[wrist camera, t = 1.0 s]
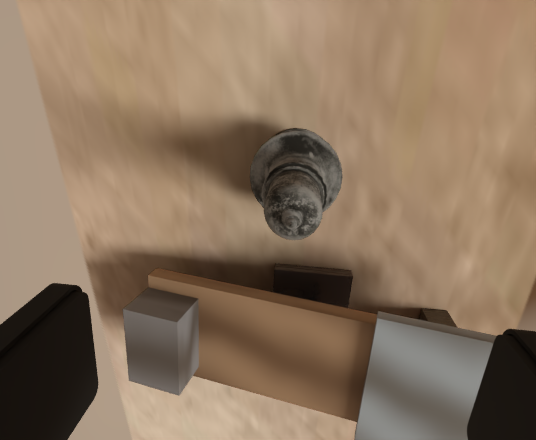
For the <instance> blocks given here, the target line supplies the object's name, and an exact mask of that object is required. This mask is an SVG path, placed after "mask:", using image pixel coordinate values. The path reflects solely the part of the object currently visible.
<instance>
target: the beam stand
mask: <svg viewBox="0 0 536 440" xmlns="http://www.w3.org/2000/svg"><path fill="white" fill-rule="evenodd" d="M352 279H353V275H352V271H351V270H340V269H329V268H318V267H307V266H297V265H286V264H275V270H274V284H273V293H278V294H282V295H287V296H292V297H297V298H301V299H306V300H311V301H316V302H320V303H325V304H330V305H334V306H339V307H344V308H348V304H349V298H350V292H351V285H352ZM419 320H423V321H428V322H433V323H437V324H442V325H447V326H452V327H457V326H456V324H455V323H454V321H453V320H452V318H451V316H450V315H449V313H448V311H443V310H433V309H423V308H422V309H421V314H420V318H419Z"/></svg>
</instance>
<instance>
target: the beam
mask: <svg viewBox="0 0 536 440" xmlns="http://www.w3.org/2000/svg"><path fill="white" fill-rule="evenodd" d="M148 285H149V287H148V288H147V289H146V290H145V291H144V292H142V293H141V294H140V295H139V296H138V297H137V298H135V299H134V300H133V301H132V302H131V303H129V304H128V305H127V306H126V307H125V308H123V317H124V329H125V340H126V352H127V364H128V375H129V381H132V382H135V383H139V384H142V385H145V386H149V387H152V388H155V389H159V390H162V391H165V392H169V393H172V394H175V395H180V394H181V392H182V391H183V389H184V388H185V386H186V385H187V383H188V382H189V380H190V379H191V378H192V376H196V377H200V378H204V379H207V380H211V381H214V382H218V383H221V384H225V385H228V386H232V387H235V388H239V389H242V390H246V391H249V392H253V393H257V394H260V395H264V396H267V397H271V398H274V399H278V400H281V401H285V402H288V403H292V404H295V405H299V406H302V407H306V408H309V409H313V410H317V411H320V412H324V413H327V414H331V415H334V416H338V417H341V418H345V419H348V420H352V421H355V422H357V425H356V431H355V439H354V440H468V437H467V425H468V421H469V418H470V415H471V412H472V409H473V406H474V403H475V399H476V396H477V393H478V390H479V387H480V384H481V381H482V378H483V374H484V371H485V368H486V365H487V362H488V359H489V356H490V353H491V350H492V346H493V343H494V340H495V338H496V337H497V336H495V335H490V334H485V333H480V332H476V331H471V330H466V329H461V328H457V327H452V326H447V325H442V324H437V323H433V322H428V321H423V320H418V319H414V318H409V317H404V316H399V315H394V314H390V313H385V312H380V311H378V314H372V313H368V312H363V311H358V310H353V309H349V308H344V307H339V306H334V305H330V304H325V303H320V302H316V301H311V300H306V299H301V298H297V297H292V296H287V295H282V294H278V293H273V292H268V291H264V290H259V289H254V288H249V287H245V286H240V285H235V284H230V283H226V282H221V281H216V280H212V279H207V278H202V277H197V276H193V275H188V274H183V273H178V272H174V271H169V270H164V269H160V268H156V269H155V270H154V271H153V272H151V273H150V274H149V275H148Z"/></svg>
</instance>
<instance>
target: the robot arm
mask: <svg viewBox="0 0 536 440" xmlns="http://www.w3.org/2000/svg"><path fill="white" fill-rule="evenodd" d="M97 389H98V376H97V367H96V359H95V350H94V342H93V333H92V324H91V315H90V307H89V299H88V295H87V294H86V293H84V292H82V289H81V288H80V287H79V286H77V285H68V284H58V283H53V284H51V285H49V286H48V287H46V288H45V289H44V290H43V291H41V292H40V293H39V294H38V295H36V296H35V297H34V298H33V299H32V300H30V301H29V302H28V303H27V304H26V305H24V306H23V307H22V308H20V309H19V310H18V311H17V312H16V313H14V314H13V315H12V316H11V317H9V318H8V319H7V320H6V321H4V322H3V323H2V324H1V325H0V440H67V439H68V438H69V436H70V435H71V433H72V432H73V430H74V429H75V427H76V425H77V424H78V423H79V421H80V420H81V418H82V416H83V415H84V413H85V412H86V410H87V409H88V407H89V406H90V404H91V403H92V401H93V400H94V398H95V396H96V393H97ZM467 437H468V440H536V332H535V331H526V330H516V329H508V330H506V331H505V332H504V333H503V335H498V336H497V337H496V338H495V340H494V343H493V346H492V350H491V353H490V356H489V359H488V362H487V365H486V368H485V371H484V374H483V378H482V381H481V384H480V387H479V390H478V393H477V396H476V399H475V403H474V406H473V409H472V412H471V415H470V418H469V421H468V425H467Z"/></svg>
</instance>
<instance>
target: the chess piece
mask: <svg viewBox="0 0 536 440" xmlns="http://www.w3.org/2000/svg"><path fill="white" fill-rule="evenodd" d="M250 182H251V187H252V191H253V193H254V195H255V197H256V199H257V201H258V202H259V203H260V204H261V205H262V207H263V208H264V215H265V219H266V222H267V224H268V226H269V227H270V229H271V230H272V231H273V232H274V233H275V234H277V235H278V236H280V237H282V238H285V239H289V240H299V239H303V238H306V237H308V236H309V235H311V234H312V233H314V231H315V230H316V229H317V228H318V226H319V224H320V222H321V219H322V213H323V212H324V211H325V210H326V209H328V208H329V207H330V205H331V204H332V203H333V202H334V201H335V199H336V197H337V195H338V193H339V191H340V189H341V183H342V168H341V163H340V161H339V158H338V156H337V154H336V152H335V151H334V150H333V148H332V147H331V146H330V144H329V143H327V142H326V141H325V140H323V139H322V138H321V137H320V136H318V135H317V134H316V133H314V132H311V131H309V130H306V129H297V128H295V129H289V130H285V131H283V132H281V133H279V134H277V135H276V136H274V137H272V138H270V139H269V140H268V141H267V142H265V143H264V144H263V145H262V146H261V147H260V149H259V150H258V152H257V153H256V155H255V156H254V159H253V162H252V165H251V170H250Z"/></svg>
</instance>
